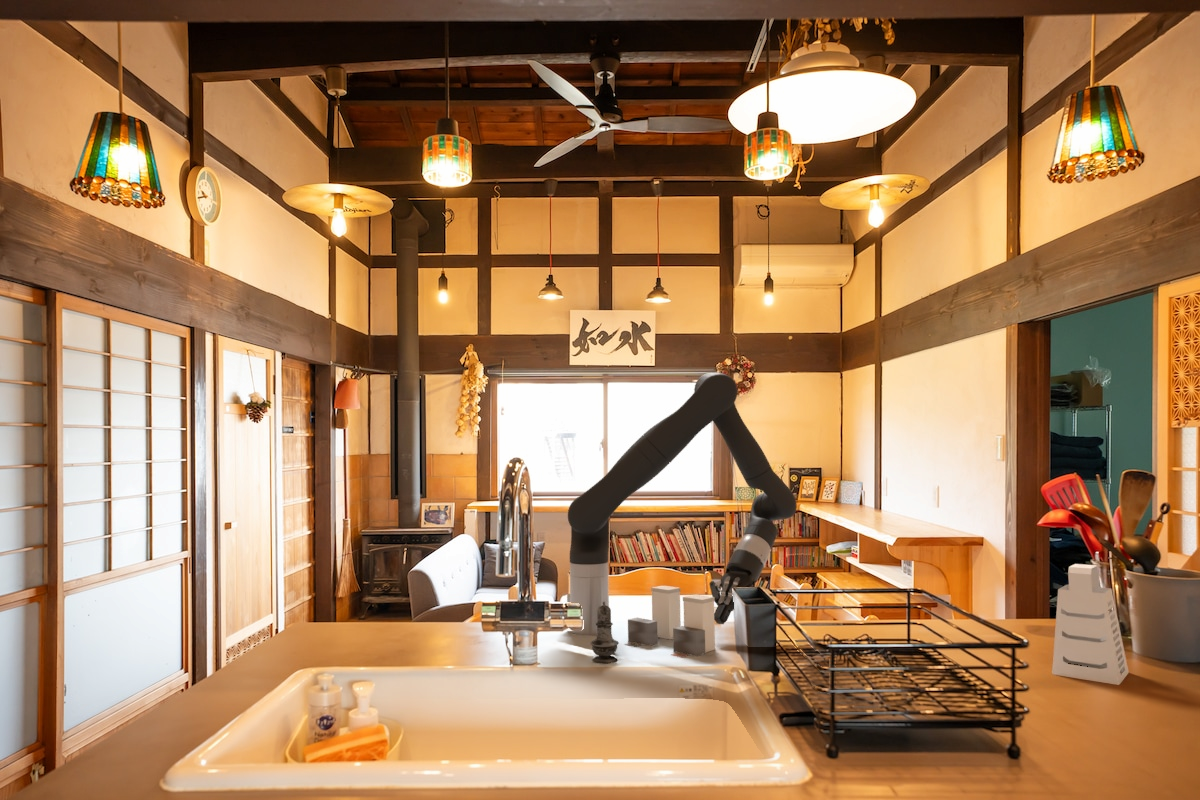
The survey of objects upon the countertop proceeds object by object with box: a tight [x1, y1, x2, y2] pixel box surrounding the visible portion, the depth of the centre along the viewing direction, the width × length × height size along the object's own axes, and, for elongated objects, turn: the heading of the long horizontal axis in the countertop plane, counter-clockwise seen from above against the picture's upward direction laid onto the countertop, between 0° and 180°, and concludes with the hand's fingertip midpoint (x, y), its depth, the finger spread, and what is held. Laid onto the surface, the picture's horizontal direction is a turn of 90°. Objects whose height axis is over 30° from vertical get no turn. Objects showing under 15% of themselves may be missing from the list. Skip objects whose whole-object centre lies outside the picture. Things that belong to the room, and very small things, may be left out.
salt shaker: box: [590, 602, 620, 665], centre depth 154 cm, size 6×6×12 cm
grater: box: [1051, 563, 1130, 686], centre depth 141 cm, size 10×10×20 cm
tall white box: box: [682, 593, 716, 653], centre depth 157 cm, size 5×4×11 cm
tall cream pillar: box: [650, 585, 682, 640], centre depth 170 cm, size 5×4×11 cm
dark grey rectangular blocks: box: [624, 617, 706, 658], centre depth 163 cm, size 25×20×6 cm
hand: (718, 621), depth 161 cm, fingers closed
